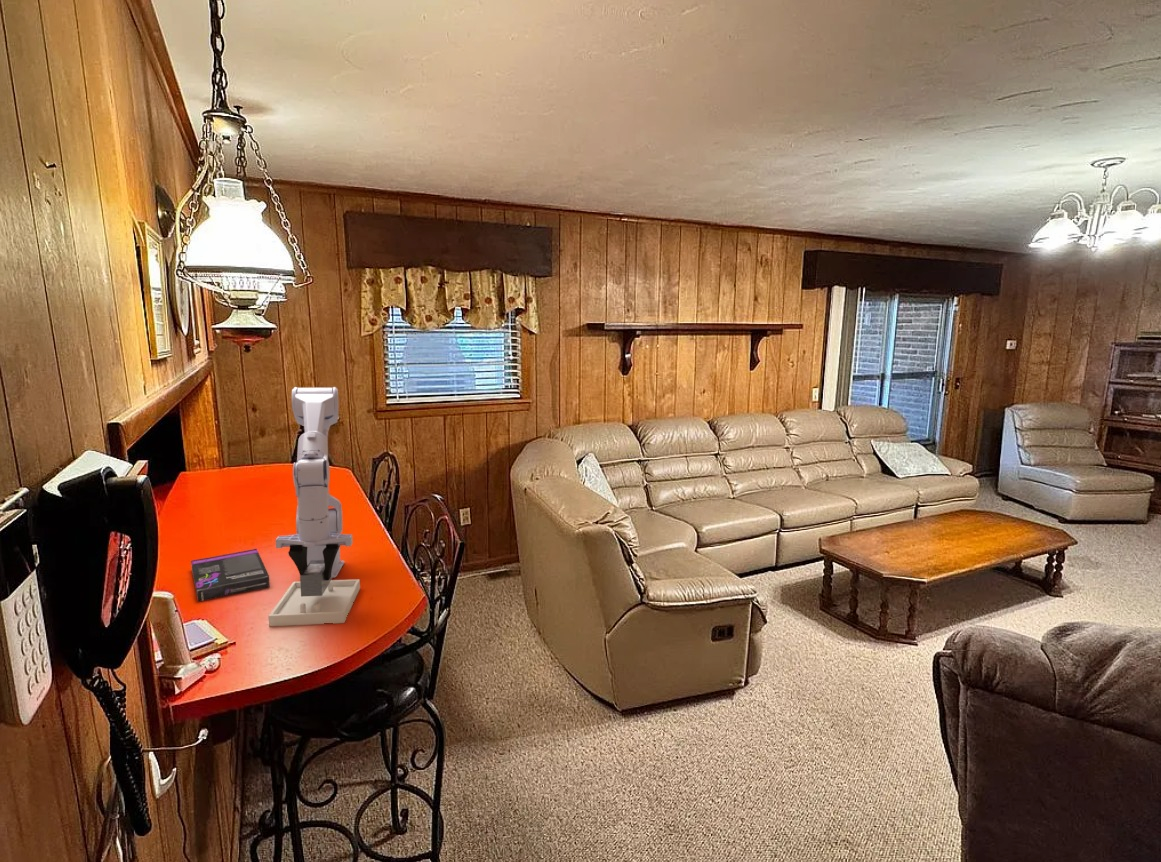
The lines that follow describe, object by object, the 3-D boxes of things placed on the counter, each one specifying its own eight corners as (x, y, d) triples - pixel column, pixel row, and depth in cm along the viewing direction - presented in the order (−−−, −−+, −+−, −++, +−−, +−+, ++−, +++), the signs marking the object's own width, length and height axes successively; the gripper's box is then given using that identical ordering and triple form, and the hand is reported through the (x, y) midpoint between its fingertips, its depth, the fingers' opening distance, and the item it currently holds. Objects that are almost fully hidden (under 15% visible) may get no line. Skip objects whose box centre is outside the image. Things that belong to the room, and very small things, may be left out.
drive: (311, 580, 130) (310, 559, 129) (331, 579, 130) (330, 559, 130) (301, 596, 122) (299, 575, 121) (322, 595, 123) (321, 574, 122)
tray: (293, 590, 134) (293, 578, 133) (359, 588, 136) (359, 576, 135) (269, 626, 118) (268, 612, 118) (344, 622, 120) (343, 608, 120)
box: (192, 574, 143) (196, 604, 127) (190, 559, 142) (195, 588, 127) (258, 561, 151) (270, 588, 135) (257, 548, 150) (269, 574, 134)
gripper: (269, 523, 118) (272, 588, 121) (346, 521, 121) (348, 585, 123) (280, 512, 125) (284, 574, 128) (353, 511, 128) (355, 571, 130)
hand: (316, 578), depth 126 cm, fingers closed on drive, 4 cm apart
